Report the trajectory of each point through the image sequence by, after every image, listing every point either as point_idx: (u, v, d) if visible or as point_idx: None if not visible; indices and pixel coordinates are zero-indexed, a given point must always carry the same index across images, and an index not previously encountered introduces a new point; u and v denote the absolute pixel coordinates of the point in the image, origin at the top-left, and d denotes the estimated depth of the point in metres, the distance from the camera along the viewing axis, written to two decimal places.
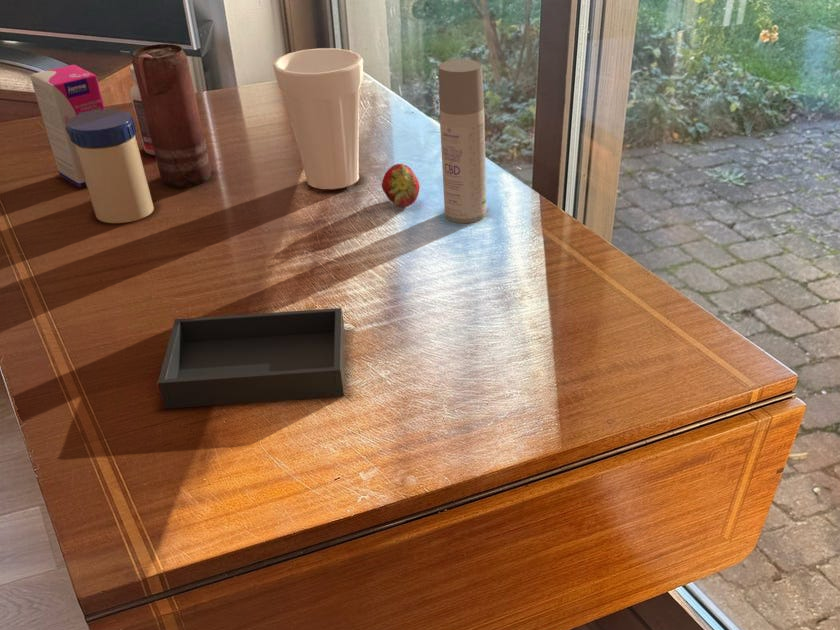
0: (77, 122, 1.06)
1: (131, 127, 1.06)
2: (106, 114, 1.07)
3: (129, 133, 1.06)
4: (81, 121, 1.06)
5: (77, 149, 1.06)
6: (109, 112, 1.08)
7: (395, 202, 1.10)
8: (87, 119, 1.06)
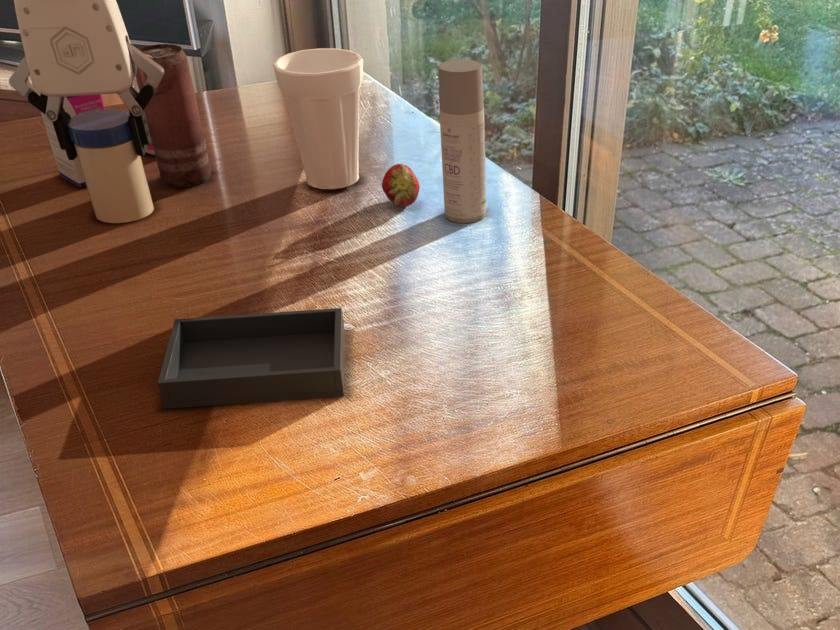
0: (77, 122, 1.06)
1: None
2: (106, 114, 1.07)
3: (129, 133, 1.06)
4: (81, 121, 1.06)
5: (77, 149, 1.06)
6: (109, 112, 1.08)
7: (395, 202, 1.10)
8: (87, 119, 1.06)
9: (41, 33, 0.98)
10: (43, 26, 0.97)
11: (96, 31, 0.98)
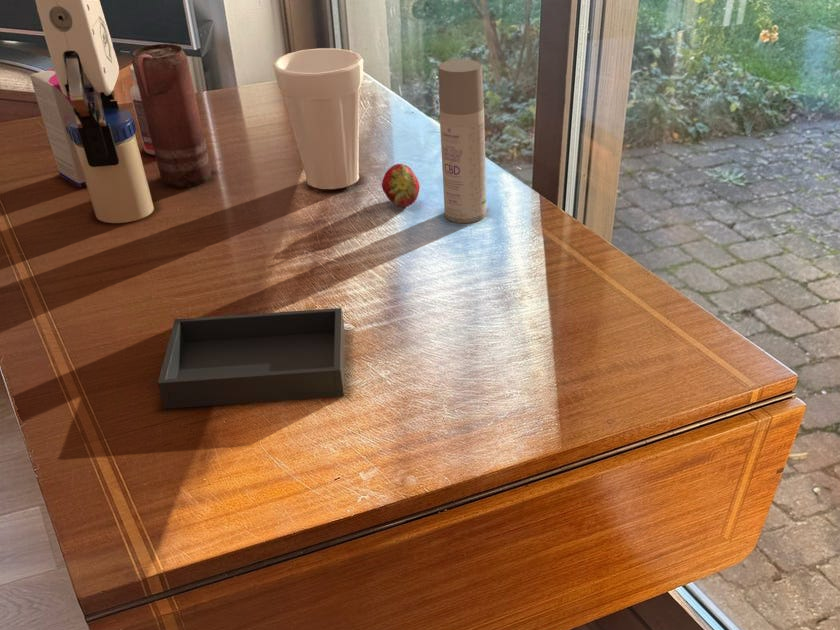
0: None
1: None
2: None
3: None
4: None
5: (77, 149, 1.06)
6: None
7: (395, 202, 1.10)
8: None
9: (96, 27, 0.98)
10: (95, 20, 0.98)
11: (103, 15, 1.02)
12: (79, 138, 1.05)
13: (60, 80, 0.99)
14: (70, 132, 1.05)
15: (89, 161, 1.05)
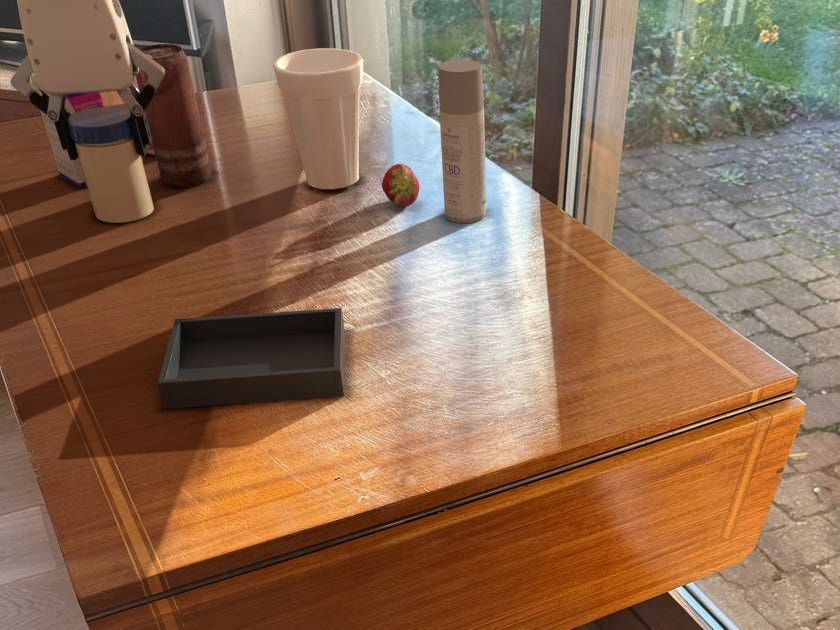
0: (121, 114, 1.07)
1: None
2: (91, 121, 1.05)
3: None
4: (117, 114, 1.06)
5: (78, 148, 1.06)
6: (88, 123, 1.04)
7: (395, 202, 1.10)
8: (111, 116, 1.06)
9: None
10: None
11: None
12: (124, 131, 1.06)
13: (129, 68, 1.02)
14: (111, 132, 1.05)
15: (143, 150, 1.08)
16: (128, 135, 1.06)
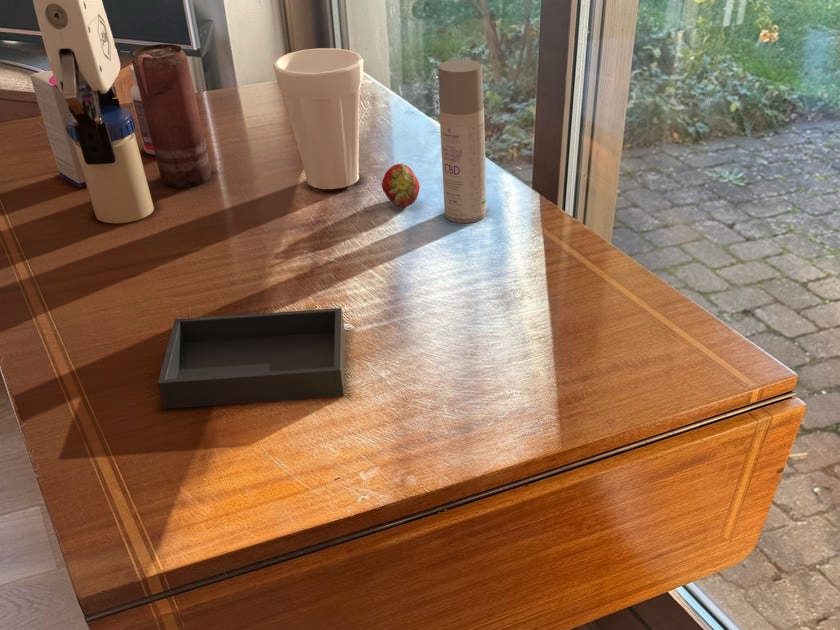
0: None
1: None
2: (111, 116, 1.06)
3: None
4: None
5: (77, 149, 1.06)
6: (118, 116, 1.06)
7: (395, 202, 1.10)
8: (102, 111, 1.07)
9: (93, 25, 0.98)
10: (93, 18, 0.98)
11: (103, 13, 1.02)
12: None
13: (56, 77, 0.99)
14: None
15: (86, 159, 1.05)
16: None
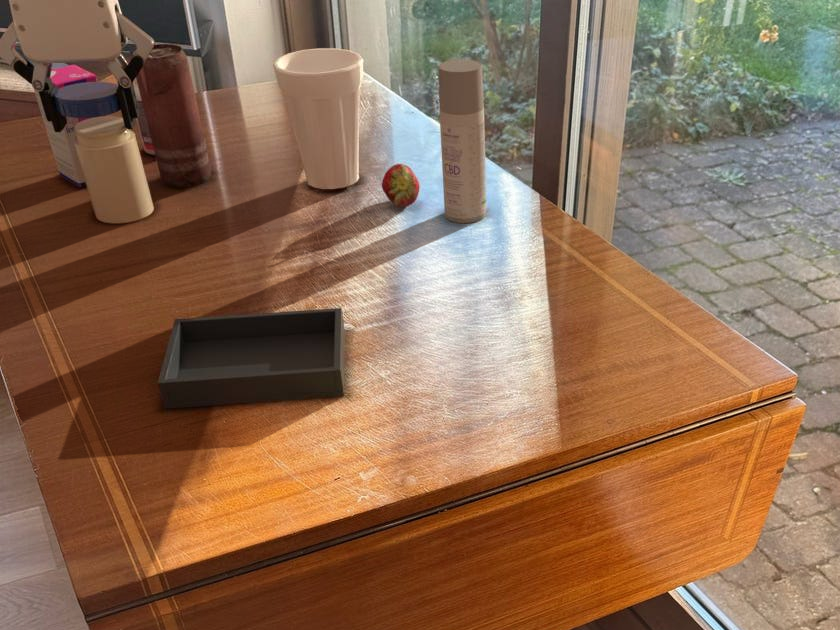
0: (64, 92, 1.03)
1: None
2: (95, 86, 1.05)
3: (117, 105, 1.04)
4: (68, 92, 1.04)
5: (77, 149, 1.06)
6: (98, 84, 1.06)
7: (395, 202, 1.10)
8: (75, 90, 1.04)
9: None
10: None
11: None
12: None
13: (118, 37, 0.99)
14: None
15: (131, 123, 1.05)
16: None
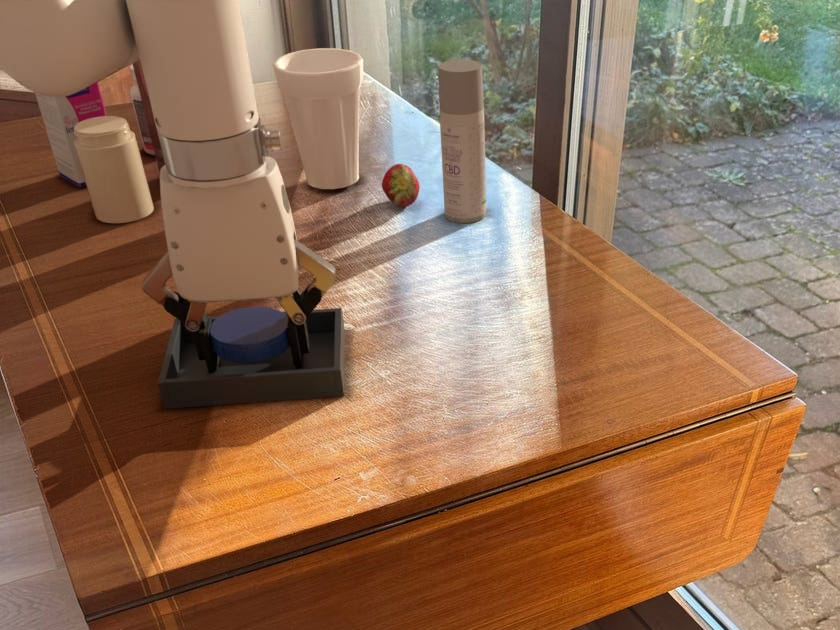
0: (222, 329, 0.84)
1: None
2: (257, 316, 0.86)
3: (286, 343, 0.84)
4: (227, 327, 0.84)
5: (77, 149, 1.06)
6: (260, 311, 0.86)
7: (395, 202, 1.10)
8: (234, 324, 0.85)
9: None
10: None
11: None
12: None
13: (296, 273, 0.80)
14: None
15: (301, 361, 0.86)
16: None
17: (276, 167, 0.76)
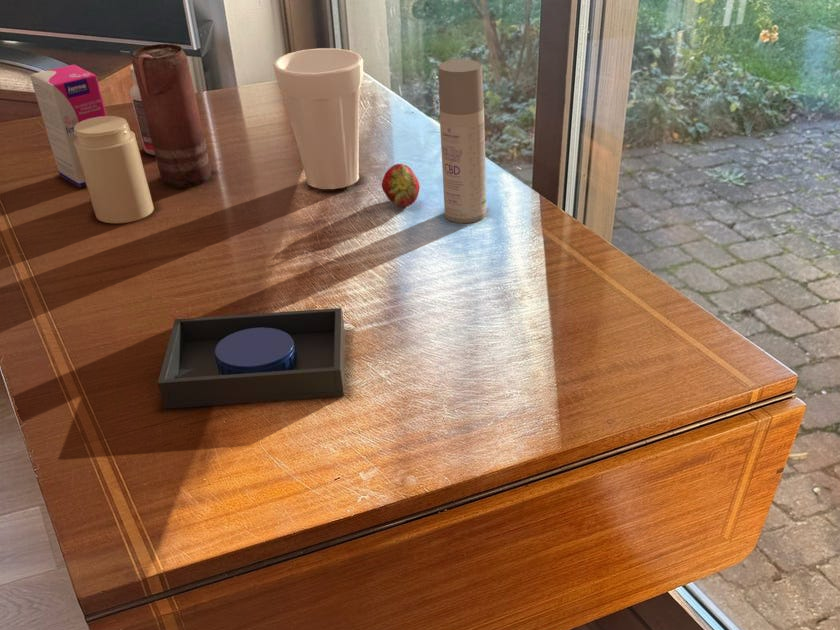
0: (228, 351, 0.85)
1: (293, 356, 0.86)
2: (261, 337, 0.87)
3: (291, 364, 0.86)
4: (233, 349, 0.86)
5: (77, 149, 1.06)
6: (264, 332, 0.88)
7: (395, 202, 1.10)
8: (239, 345, 0.86)
9: None
10: None
11: None
12: None
13: None
14: None
15: None
16: None
17: None
